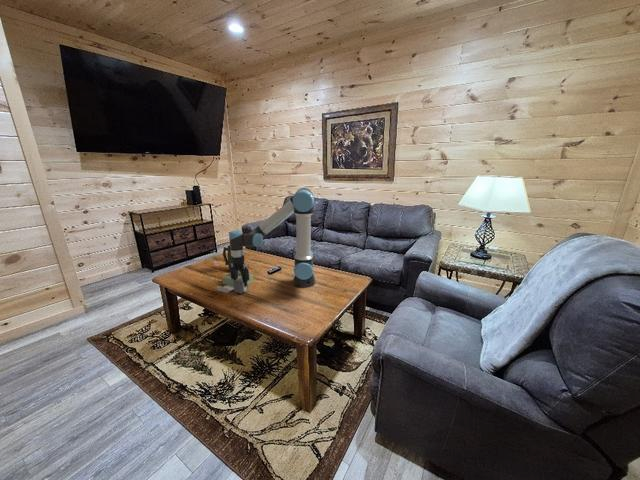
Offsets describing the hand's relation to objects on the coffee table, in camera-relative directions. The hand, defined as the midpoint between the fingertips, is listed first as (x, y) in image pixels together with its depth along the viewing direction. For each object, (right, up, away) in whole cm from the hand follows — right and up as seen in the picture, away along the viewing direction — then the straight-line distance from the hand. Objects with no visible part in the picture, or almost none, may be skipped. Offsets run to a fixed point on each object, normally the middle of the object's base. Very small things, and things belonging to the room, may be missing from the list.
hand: (241, 290), depth 167 cm
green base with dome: (-8, +1, +10) cm, 13 cm away
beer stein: (-17, +9, +35) cm, 40 cm away
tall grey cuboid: (0, 0, 0) cm, 0 cm away
